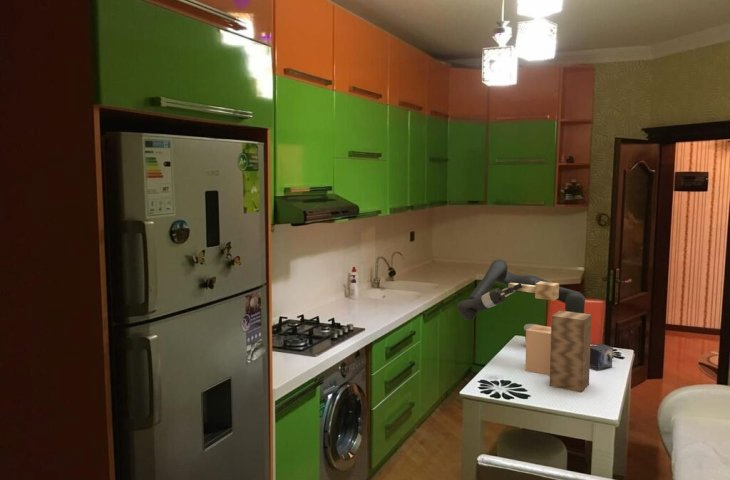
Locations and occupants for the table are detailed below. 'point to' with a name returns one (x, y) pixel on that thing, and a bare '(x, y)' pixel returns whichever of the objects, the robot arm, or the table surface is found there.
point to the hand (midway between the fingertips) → (522, 284)
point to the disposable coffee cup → (528, 328)
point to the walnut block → (570, 350)
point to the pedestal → (538, 349)
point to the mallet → (541, 290)
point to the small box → (601, 357)
